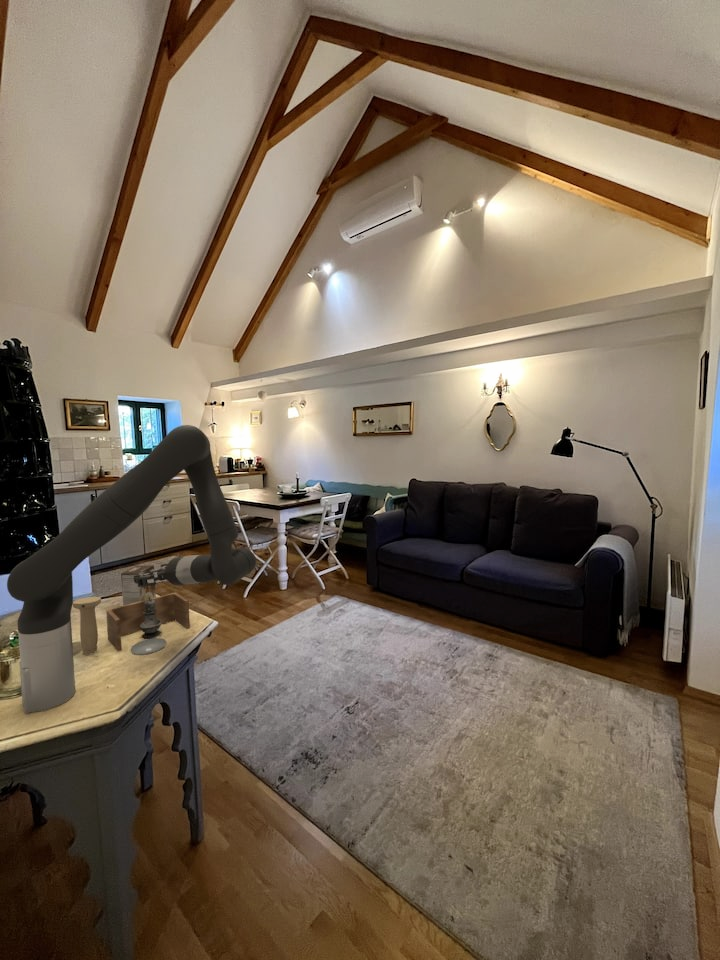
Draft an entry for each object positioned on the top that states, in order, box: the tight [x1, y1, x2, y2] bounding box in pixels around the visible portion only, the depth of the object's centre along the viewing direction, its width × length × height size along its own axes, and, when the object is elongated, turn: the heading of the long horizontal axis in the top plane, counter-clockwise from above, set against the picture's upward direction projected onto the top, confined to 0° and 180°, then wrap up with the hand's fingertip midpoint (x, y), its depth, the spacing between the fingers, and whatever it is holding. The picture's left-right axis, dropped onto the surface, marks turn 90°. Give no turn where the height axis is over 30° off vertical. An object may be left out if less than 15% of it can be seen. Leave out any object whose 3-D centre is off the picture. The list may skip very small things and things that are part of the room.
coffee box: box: [120, 564, 157, 606], centre depth 134 cm, size 9×6×16 cm
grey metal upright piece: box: [140, 597, 162, 640], centre depth 119 cm, size 6×6×12 cm
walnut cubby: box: [105, 591, 191, 652], centre depth 120 cm, size 20×10×9 cm, turn 135°
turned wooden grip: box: [72, 596, 102, 656], centre depth 108 cm, size 5×6×15 cm
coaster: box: [130, 637, 167, 656], centre depth 112 cm, size 9×9×1 cm
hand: (149, 573), depth 111 cm, fingers open, 8 cm apart
